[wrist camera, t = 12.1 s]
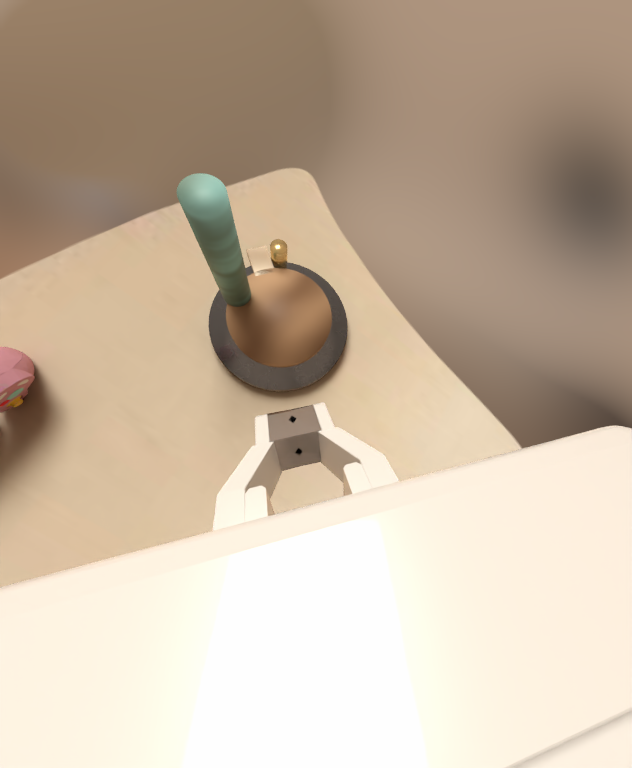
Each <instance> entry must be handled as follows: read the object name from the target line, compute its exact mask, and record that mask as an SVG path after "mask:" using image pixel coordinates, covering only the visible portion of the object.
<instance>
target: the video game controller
mask: <svg viewBox="0 0 632 768" xmlns="http://www.w3.org/2000/svg"><path fill="white" fill-rule="evenodd" d="M33 374H34V365H33V362H32V361H31V359H30V358H29V357H28V356H27V355H26V354H24V353H23V352H20V351H18V350H15V349H12V348H8V347H0V412H4V411H6V410H8V409H10V408H11V407H17V406H19V405H20V404H22V403H23V400H22V399H23V398H24V397H25V396H26V395H27V393H28V391H27V389H28V387H29V386H30V385H31V383H32V382H33V380H34V378H35V377H34V376H33Z"/></svg>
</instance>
